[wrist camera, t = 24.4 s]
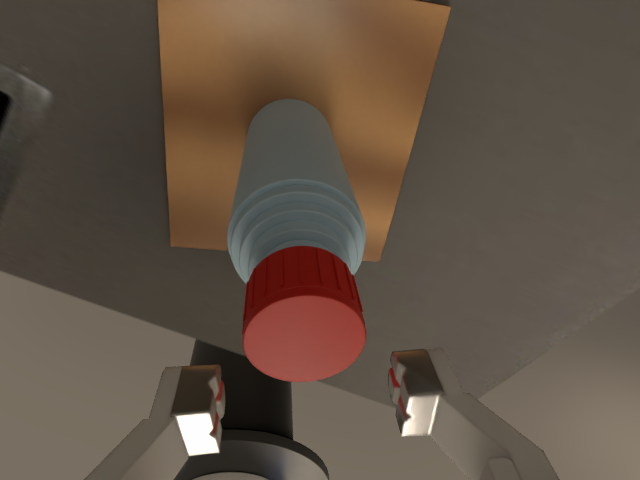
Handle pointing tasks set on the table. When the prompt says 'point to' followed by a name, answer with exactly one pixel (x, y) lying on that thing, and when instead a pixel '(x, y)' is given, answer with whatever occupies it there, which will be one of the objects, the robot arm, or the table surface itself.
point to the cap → (302, 315)
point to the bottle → (293, 190)
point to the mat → (291, 96)
